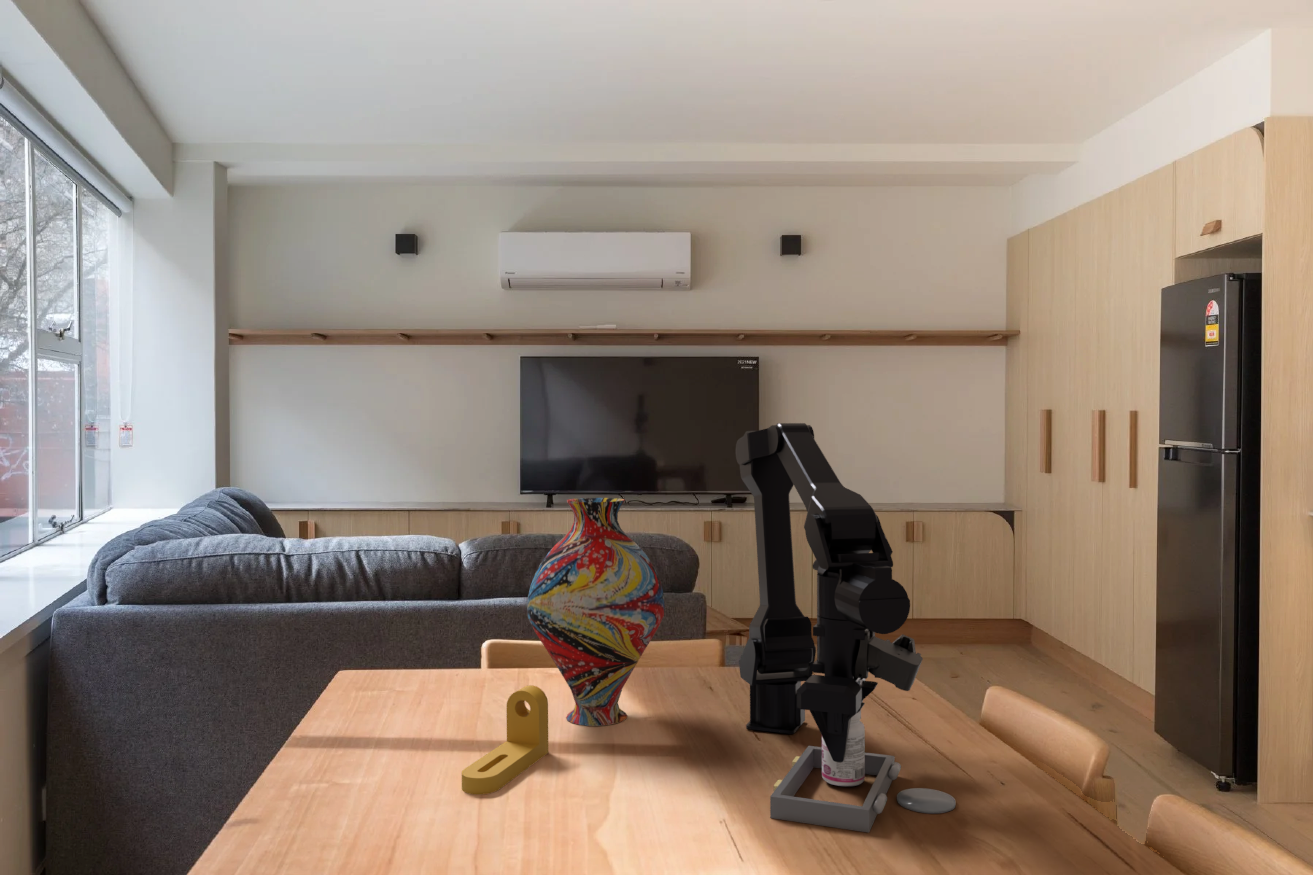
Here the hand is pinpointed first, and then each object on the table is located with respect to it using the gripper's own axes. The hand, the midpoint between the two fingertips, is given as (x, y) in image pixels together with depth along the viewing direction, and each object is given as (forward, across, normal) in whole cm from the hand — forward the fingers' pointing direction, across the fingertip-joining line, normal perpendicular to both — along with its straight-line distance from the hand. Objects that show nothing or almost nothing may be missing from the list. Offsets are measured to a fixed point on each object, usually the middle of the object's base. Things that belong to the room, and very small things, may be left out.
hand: (843, 754), depth 110 cm
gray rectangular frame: (+3, -4, 0) cm, 5 cm away
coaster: (+3, -2, -9) cm, 10 cm away
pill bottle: (+3, 0, 0) cm, 3 cm away
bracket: (+4, -10, +38) cm, 39 cm away
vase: (+4, +12, +36) cm, 39 cm away
